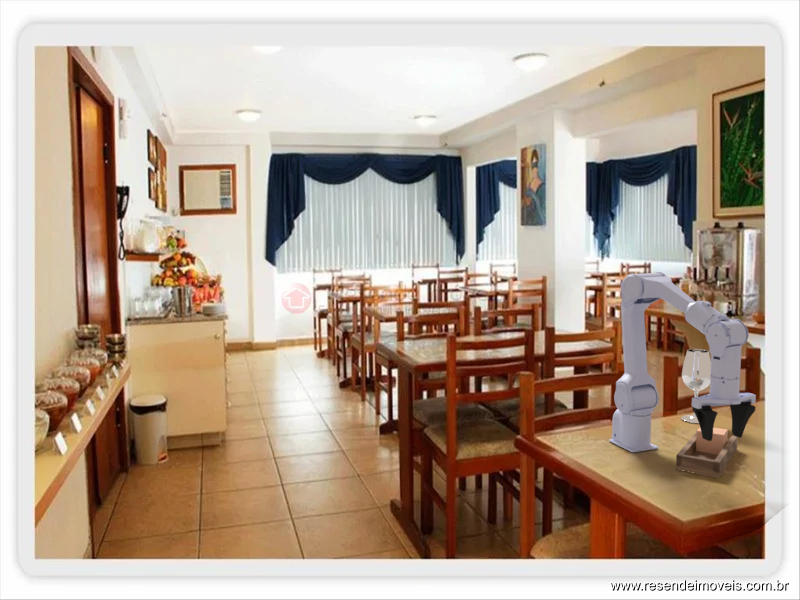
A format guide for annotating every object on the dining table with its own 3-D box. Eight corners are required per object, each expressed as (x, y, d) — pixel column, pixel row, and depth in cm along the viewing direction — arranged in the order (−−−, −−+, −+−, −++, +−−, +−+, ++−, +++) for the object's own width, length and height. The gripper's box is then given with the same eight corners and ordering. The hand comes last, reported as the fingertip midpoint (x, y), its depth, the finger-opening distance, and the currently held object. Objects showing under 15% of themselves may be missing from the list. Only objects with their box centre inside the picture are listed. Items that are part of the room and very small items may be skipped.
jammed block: (700, 445, 167) (701, 425, 167) (726, 449, 164) (727, 429, 163) (695, 450, 163) (696, 430, 163) (722, 455, 160) (723, 435, 159)
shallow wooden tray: (698, 443, 172) (698, 429, 171) (736, 449, 167) (737, 436, 166) (675, 469, 154) (676, 455, 154) (718, 478, 149) (719, 462, 149)
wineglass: (703, 415, 195) (706, 347, 193) (715, 424, 187) (718, 353, 185) (676, 416, 195) (678, 348, 193) (686, 424, 188) (689, 353, 185)
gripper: (708, 383, 138) (705, 447, 140) (767, 378, 142) (764, 440, 144) (686, 375, 145) (683, 436, 147) (743, 370, 149) (740, 430, 150)
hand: (722, 437), depth 146 cm, fingers open, 7 cm apart
